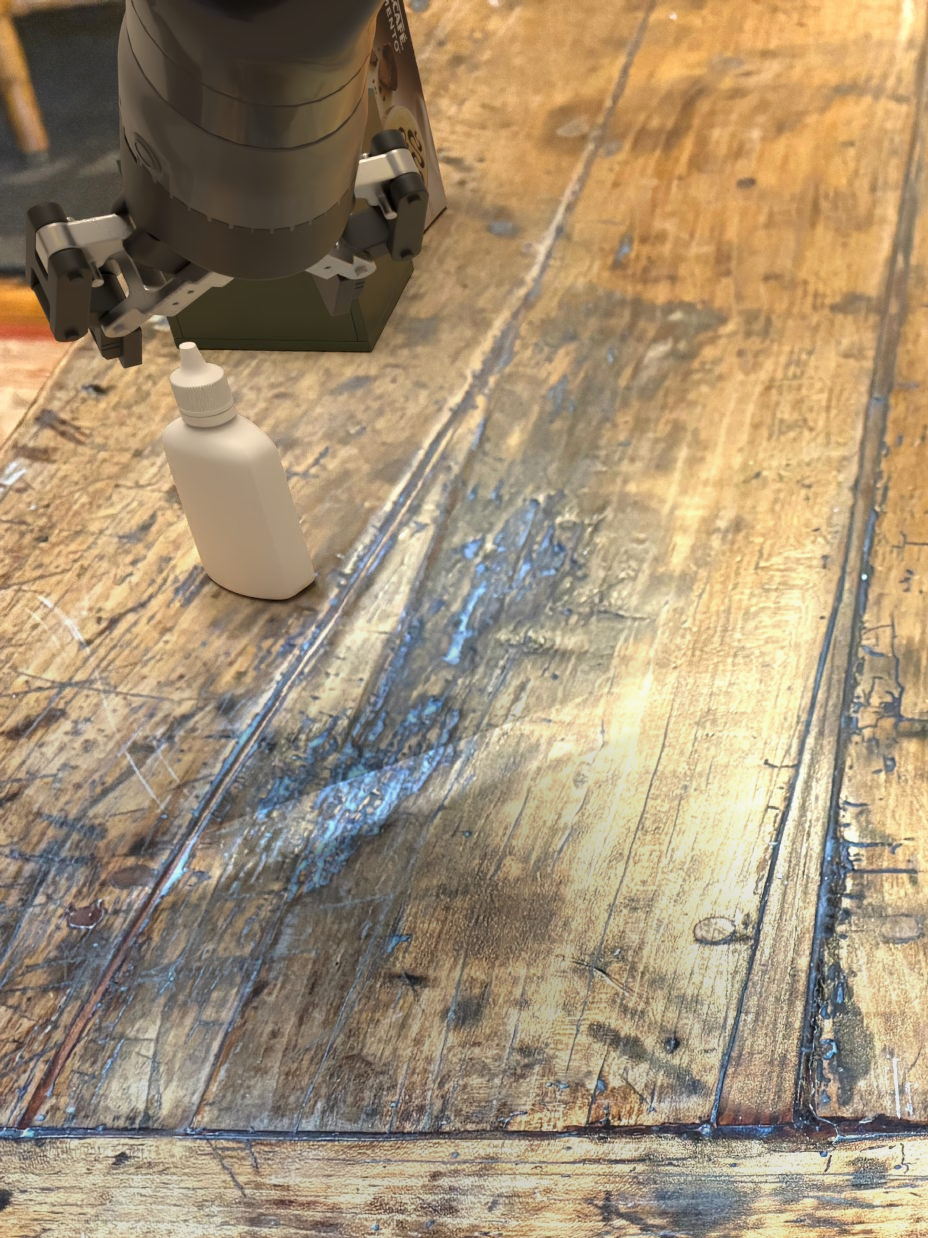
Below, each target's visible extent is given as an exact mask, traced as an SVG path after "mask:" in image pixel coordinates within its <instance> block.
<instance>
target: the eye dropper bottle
mask: <svg viewBox="0 0 928 1238" xmlns="http://www.w3.org/2000/svg"><path fill="white" fill-rule="evenodd" d="M178 349H179V356H180V357H179V358H180V367H178V368H177V369H175V370H173V372H172V373H171V374H170V375H169V378H168V380H169V384H170V387H171V390H172V393H173V396H174V399H175V403H176V405H177V408H178V411H179V413H180V416H179V417H177V418H175V419H174V420H172V421H171V422H169V423H168V424H167V426H165V428H164V429H163V431H162V434H161V443H162V448H163V451H164V454H165V458H166V462H167V464H168V467H169V470H170V474H171V477H172V480H173V483H174V486H175V489H176V491H177V494H178V497H179V500H180V503H181V507H182V509H183V512H184V515H185V518H186V521H187V525H188V528H189V530H190V532H191V535H192V538H193V541H194V544H195V547H196V550H197V554H198V556H199V560H200V562H201V565H202V569H203V570H204V572H205V573H206V575H207V576H208V577H209V578H210V579H211V580H212V581H214V582H215V583H216V584H217V585H219V586H221V587H222V588H224V589H226V590H228V591H230V592H233V593H236V594H238V595H242V596H246V597H250V598H256V599H265V600H287V599H291V598H292V597H294V596H296V595H297V594H299V593H301V591H303V590H304V589H305V588H307V587H308V586H310V585H311V584H312V583H313V582H314V581H315V579H316V573H315V570H314V566H313V563H312V559H311V555H310V551H309V549H308V546H307V542H306V539H305V535H304V532H303V529H302V526H301V525H302V524H301V522H300V518H299V514H298V511H297V508H296V505H295V502H294V499H293V495H292V492H291V489H290V488H291V487H290V485H289V483H288V482H289V481H288V479H287V476H286V472H285V469H284V467H283V463H282V459H281V457H280V454H279V451H278V449H277V446H276V444H275V443H274V441H273V440H272V439H271V438H270V436H269V435H268V434H266V432H265V431H263V430H262V429H261V428H260V427H259V426H258V425H256V424H255V423H254V422H252V421H251V420H249V419H247V418H246V417H244V416H243V415H241V414H240V413H237V411H238V410H237V407H236V403H235V400H234V398H233V394H232V391H231V388H230V387H231V386H230V384H229V381H228V378H227V375H226V371H225V370H224V369H223V367H221V366H220V365H217V364H214V363H211V362H206V360H205V359H204V357H203V356H202V354H201V351H200V349H198V348H197V346H196V344H195V343H193V342H185V343H182V344H180V346H179V348H178Z"/></svg>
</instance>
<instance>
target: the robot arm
mask: <svg viewBox="0 0 928 1238" xmlns="http://www.w3.org/2000/svg"><path fill="white" fill-rule="evenodd" d="M384 2H385V0H125V11H124V15H123V18H122V22H121V26H120V31H119V37H118V45H117V77H118V79H117V80H118V83H117V84H118V119H119V121H118V122H119V156H120V159H121V171H122V177H121V180H122V179H123V180H122V186H123V189H122V191H120V193H119V195H118V196H117V197H116V198H115V199H113V201H112V203H111V205H110V208H109V214H105V215H101V216H95V217H90V218H85V219H80V220H76V219H75V218H74V217H71V216H67V215H66V213H65V211H64V208H63V207H62V205H61V204H60V203H58V202H56V201H55V202H54V201H47V202H41V203H38V204H35V205H33V206H32V207H30V208H28V210H27V211H26V214H25V267H24V268H25V271H24V273H25V274H24V275H25V279H26V281H27V284H28V285H29V287H30V289H31V291H32V292H33V293H34V295H35V297H36V298H37V302H38V303H39V305H40V307H41V309H42V311H43V314H44V316H45V318H46V320H47V322H48V325H49V330H50V332H51V333H52V336H53V337H54V339H55V341H56V342H58V343H73V342H76V341H78V340H80V339H82V338H84V337H85V336H86V335H88V333H89V332H90V335H91V337H92V339H93V341H94V342H95V345H96V348H97V349H98V352H99V353H100V355H101V357H102V358H103V359H105V360H106V361H110V360H114V359H118V361H119V363H120V365H121V366H122V368H123V369H124V370H126V369H129V368H133V367H137V366H141V365H143V329H142V327H141V325H143V324H144V323H146V322H147V321H148V320H149V319H151V318H152V317H153V316H160V317H166V316H175V315H176V314H178V313H179V312H180V311H182V310H183V309H184V308H185V307H187V306H188V305H189V304H190V303H192V302H193V301H194V300H196V299H197V298H198V297H199V296H201V295H202V294H203V293H205V292H206V291H207V290H208V289H210V288H211V287H212V286H214V287H223V286H225V285H226V284H227V283H229V282H230V281H231V280H232V279H234V278H237V279H245V280H273V279H279V278H284V277H288V276H292V275H294V274H297V273H300V272H302V271H307V272H309V273H312V276H313V279H314V281H315V283H316V285H317V288H318V290H319V292H320V294H321V296H322V298H323V301H324V303H325V305H326V307H327V309H328V311H329V313H330V315H331V316H337V315H341V314H345V313H349V311H350V307H351V302H352V299H357V298H358V297H359V296H360V295H361V294H362V292H363V289H364V285H365V280H366V277H367V276H368V275H370V274H372V273H373V272H374V271H375V270H376V265H375V263H374V260H376V259H377V258H379V257H381V256H384V255H386V254H389V253H390V255H391V257H392V260H393V261H396V262H401V261H408V260H411V259H412V260H413V259H414V258H415V257H417V256H418V255H419V254H421V251H422V245H423V239H424V232H425V231H424V227H425V220H426V213H427V206H428V199H429V193H428V191H427V189H426V186H425V184H424V182H423V180H422V178H421V175H420V173H419V171H418V169H417V167H416V164H415V162H414V160H413V158H412V155H411V153H410V151H409V149H408V147H407V144H406V142H405V140H404V138H403V136H402V133H401V131H399V130H397V129H389V130H385V131H382V132H380V133H378V134H376V135H375V136H374V137H373V138H372V139H371V143H370V154H369V153H364V154H361V150H362V145H363V140H364V134H365V129H366V123H367V115H368V87H367V73H368V68H369V62H370V57H371V51H372V46H373V40H374V35H375V29H376V17H377V14H378V12H379V10H380V8H381V7H382V5H383V3H384ZM356 198H365V199H366V203H367V205H368V207H369V208H368V209H365V210H363V211H360V212H358V213H355V214H352V212H353V210H354V207H355V202H356ZM162 272H164V273H167V274H169V275H172V276H174V277H172V278H171V279H170V280H169V281H167V282H166V280H165V278H164V275H163V273H162ZM120 275H122V277H123V280H124V282H125V284H126V286H127V288H128V295H127V296H126V294H125V292H124V289H123V287H122V285H121V283H120V281H119V278H118V277H119V276H120Z"/></svg>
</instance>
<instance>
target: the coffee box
mask: <svg viewBox="0 0 928 1238" xmlns="http://www.w3.org/2000/svg"><path fill="white" fill-rule="evenodd" d="M406 12H407V11H406V7H405V3H404V0H385V2H384V3H383V5H382V7H381V8H380V10H379V12H378V14H377V17H376V29H375V35H374V40H373V46H372V51H371V57H370V62H369V68H368V73H367V87H368V88H373V89H374V93H375V98H376V102H377V106H378V111H379V115H380V120H381V124H382V129H383V131H385V130H389V129H397V130H399V131H401V133H402V136H403V138H404V140H405V142H406V144H407V147H408V149H409V151H410V153H411V155H412V158H413V160H414V162H415V164H416V167H417V169H418V171H419V173H420V175H421V178H422V180H423V182H424V184H425V186H426V189H427V191H428V193H429V199H428V206H427V213H426V220H425V227H424V232H425V231H426V229H428V227H429V226H430V225H431V224H432V223H433V222H434V220H435V219H436V218H437V217H438V215H440V214H441V212H442V211H443V210H444V209H445V208H446V206H447V205H448V200H447V195H446V191H445V187H444V183H443V179H442V173H441V169H440V165H439V160H438V155H437V151H436V147H435V145H436V144H435V140H434V137H433V132H432V128H431V123H430V118H429V115H428V109H427V105H426V100H425V96H424V92H423V90H424V89H423V86H422V81H421V76H420V72H419V71H420V70H419V67H418V63H417V58H416V54H415V53H416V52H415V48H414V45H413V39H412V35H411V30H410V26H409V20H408V17H407V13H406Z"/></svg>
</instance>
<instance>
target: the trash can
mask: <svg viewBox="0 0 928 1238" xmlns="http://www.w3.org/2000/svg"><path fill="white" fill-rule="evenodd" d="M382 131H383V129H382V124H381V120H380V115H379V111H378V106H377V102H376V98H375V93H374V89H373V88H368V115H367V123H366V129H365V134H364V140H363V145H362V150H361V154H364V153H369V154H370V143H371V139H372V138H373V137H374V136H375V135H376V134H378V133H380V132H382ZM115 162H116V165H117V168H118V171H119V174H120V177H121V180H122V181H123V179H122V171H121V159H120V155H119V156H117V158H116V159H115ZM368 208H369V207H368V205H367V203H366V199H365V198H356V202H355V207H354V210H353V212H352V214H355V213H358V212H360V211H363V210H365V209H368ZM374 263H375V265H376V270H375V271H374V272H373V273H372V274H370V275H368V276H367V277H366V280H365V285H364V289H363V292H362V294H361V295H360V296H359V297H358V298H357V299H352V302H351V307H350V311H349V313H345V314H341V315H337V316H331V315H330V313H329V311H328V309H327V307H326V305H325V303H324V301H323V298H322V296H321V294H320V292H319V290H318V288H317V285H316V283H315V281H314V279H313V276H312V273H309V272H307V271H302V272H300V273H297V274H294V275H292V276H288V277H284V278H279V279H273V280H245V279H237V278H234V279H232V280H231V281H230V282H229V283H227V284H226V285H225V286H223V287H214V286H212V287H211V288H210V289H208V290H207V291H206V292H205V293H203V294H202V295H201V296H199V297H198V298H197V299H196V300H194V301H193V302H192V303H190V304H189V305H188V306H187V307H185V308H184V309H183V310H182V311H180V312H179V313H178V314H176V315H175V316H165V317H166V320H167V323H168V326H169V329H170V332H171V335H172V338H173V341H174V345H175V347H176V349H179V346H180V344H182V343H185V342H193V343H195V344H196V346H197V348H198V350H202V349H203V350H251V351H252V350H257V351H259V350H261V351H309V352H312V351H313V352H315V351H316V352H322V351H323V352H364V353H365V352H366V353H367V352H372V351H373V349H374V347H375V345H376V343H377V341H378V339H379V337H380V335H381V333H382V331H383V329H384V328H385V326H386V324H387V322H388V319H389V317H390V316H391V314H392V312H393V310H394V308H395V307H396V304H397V302H398V300H399V298H400V297H401V294H402V293H403V291H404V289H405V287H406V285H407V283H408V281H409V279H410V277H411V276H412V273H413V271H414V269H415V267H414V263H413V258H412V259H411V260H408V261H401V262H396V261H393V260H392V257H391V255H390V253H389V254H386V255H384V256H381V257H379V258H377V259H376V260H374ZM162 273H163V275H164V278H165V280H166V282H167V281H169V280H170V279H171V278H172V277H174V276H172V275H169V274H167V273H164V272H162Z"/></svg>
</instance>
